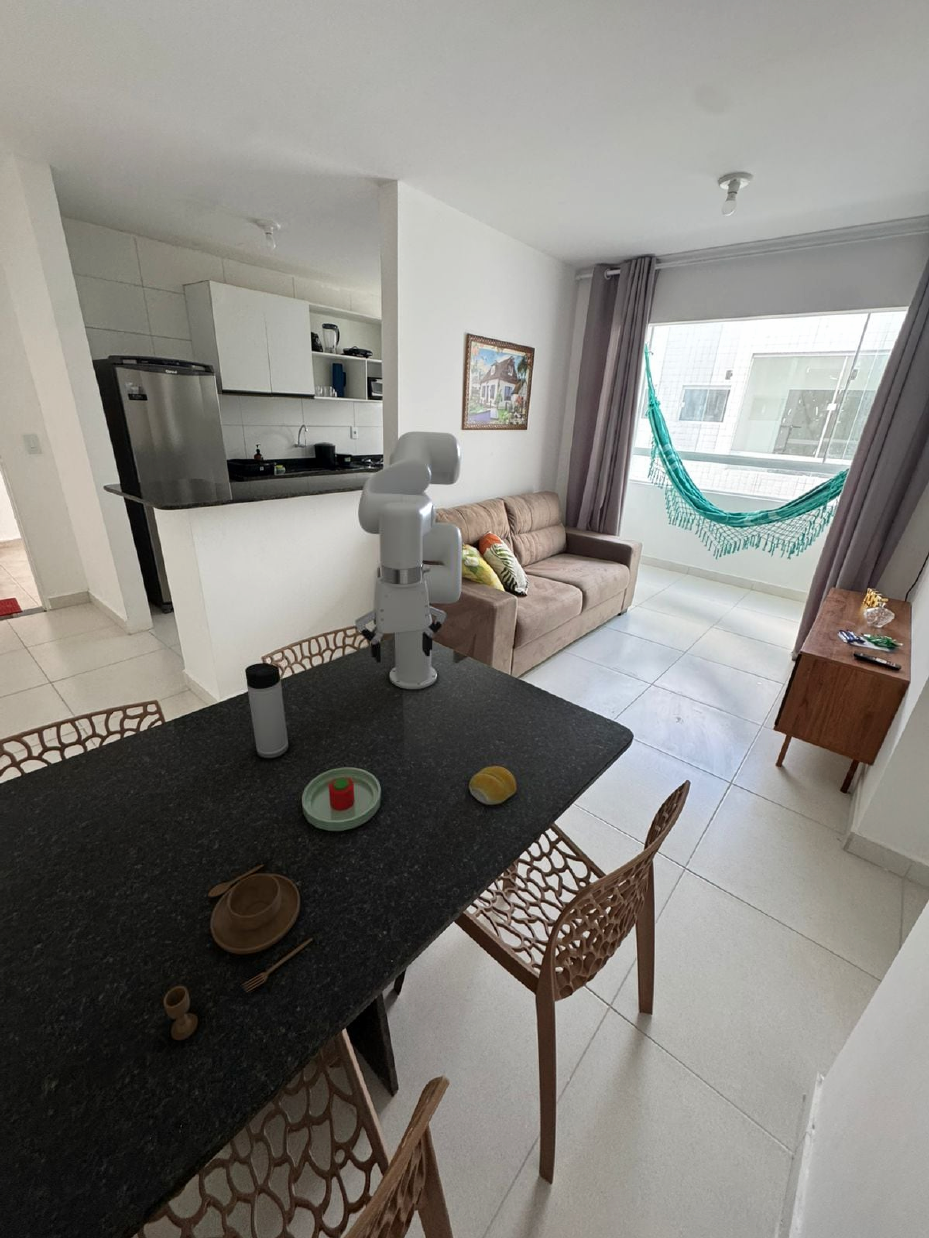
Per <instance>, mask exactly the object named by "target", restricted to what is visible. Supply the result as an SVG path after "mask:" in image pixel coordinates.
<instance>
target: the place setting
mask: <svg viewBox="0 0 929 1238" xmlns="http://www.w3.org/2000/svg"><path fill="white" fill-rule="evenodd" d="M263 867H264V864H260V865H257V866H255V867H254V868H252V869H250V870H249V871H247V872H245V873H243V874H242V875H240V876H238V877H236V878H235V879H233V880H231V881H230V880H229V881H227V882H221V883H219V884H217V885H215V886H214V887H213V888H212V889H211V890H210V891H209V892H208V893H207V896H208V898H216V897H219V896H221V898H220V899H219V900H218V901H217V903H216V904H215V906H214V908H213V911H212V914H211V917H210V924H209V925H210V932H211V936H212V938H213V940H214V941H215V943H216V944H217V946H219V947H220V948H221V949H222V950H224V951H226V952H228V953H231V954H235V955H249V954H255V953H259V952H261V951H264V950H266V949H268V948H270V947H271V946H273V945H275V944H276V943H278V942H279V941H281V940H282V939H283V938H284V937H285V936H286V935H287V934H288V933H289V931H290V930H291V928H292V927H293V925H294V924H295V922H296V920H297V918H298V915H299V912H300V907H301V898H300V897H301V896H300V892H299V889H298V887H297V886H296V884H295V883H294V882H293V880H291V879H290V878H288V877H286V876H284V875H281V874H277V873H255V872H257V871H258V870H260V869H261V868H263ZM254 873H255V874H254ZM239 880H240V881H239ZM235 883H236V884H235ZM231 886H232V887H231ZM312 941H313V937H311V938H309V939H307V940H306V941H304V942H303V943H302V944H300V945H299V946H297V947H296V948H295V949H293V950H292V951H291V952H290V953H287V955H286V956H285V957H283V958H282V959H280V960H279V961H278V962H276V963H275V964H274V965H272V966H271V967H270V968H269V969H267V970H266V971H265V972H261V973H259V974H257V975H256V976H254V977H253V978H251V979H249V980H247V981H246V982H244V983H243V984H242V986H243V987H242V988H243V989H244V991H245V993H249V992H251V991H252V990H254V989H255V988H257V987H259V986H260V985H262V984H264V983H265V982H266V981H267V979H268V977H269V975H270V974H271V973H272V972H273V971H275V970H276V969H277V968H279V967H280V966H281V965H283V964H284V963H285V962H286V961H288V960H289V959H291V958H292V957H294V956H295V955H296V954H297V953H299V952H300V951H301V950H302V949H304V948H305V947H306V946H307V945H309V944H310V943H311V942H312ZM190 1003H191V1001H190V995H189V992H188V989H187V987H186V986H185V985H177V986H174V987H172V988H171V989H170V990H168V991H167V992H166V994H165V996H164V998H163V1007H164V1010H165V1012H166V1014H167V1016H168V1017H169V1018H170V1019H172V1020H175V1021H174V1023H173V1024H172V1026H171V1029H170V1036H171V1037H172V1039H174V1040H175V1041H184V1040H186V1039H187V1038H189V1037H190V1036H192V1035H193V1034H194V1032H195V1031H196V1029H197V1027H198V1023H199V1022H198V1020H199V1019H198V1016H197V1015H196V1014H194V1013H192V1012H188V1011H189V1008H190V1006H191V1005H190Z"/></svg>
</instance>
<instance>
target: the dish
mask: <svg viewBox="0 0 929 1238" xmlns="http://www.w3.org/2000/svg"><path fill="white" fill-rule="evenodd" d="M338 777H348V778H350V779H351V780H352V781H353V783H354V800H355V801H354V804H353V805H352V807H350V808H349V809H347V810H343V811H337V810H334V809H333V808H332V807H331V806H330V797H329V784H330V782H331V781H332V780H334V779H336V778H338ZM381 801H382V788H381V784H380V781H379V780H378V779H377V778H376V776H375V775H374V774H372V773H371V772H369V771H367V770H366V769H362V768H358V767H345V766H344V767H337V768H332V769H330V770H326V771H325V772H322V773H320V774H318V775H317V776H316V777H314V778H313V779H311V780H310V782H309V783H308V784H307V785H306V787H304V790H303V792H302V794H301V805H302V814H303V816H304V818H305V819H306V820H307V822H308V823H309V824H311V825H313V826H314V827H315V828H317V829H321V830H324V831H328V832H343V831H346V830H352V829H354V828H357V827H359V826H361V825H363V824H365V823H366V822H368V821H369V820H370V819H371V818H373V816H375V815H376V814H377V811H378V810H379V808H380V806H381Z"/></svg>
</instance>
